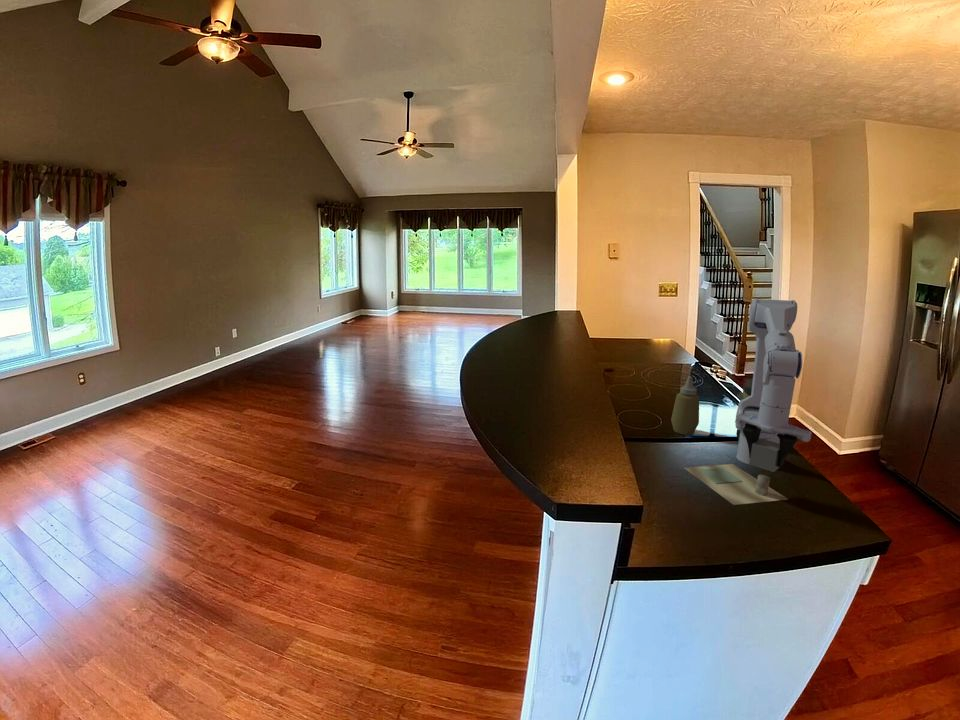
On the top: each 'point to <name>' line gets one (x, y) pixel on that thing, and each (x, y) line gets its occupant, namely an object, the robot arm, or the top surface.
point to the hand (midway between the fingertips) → (765, 461)
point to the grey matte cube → (765, 454)
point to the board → (736, 484)
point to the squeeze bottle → (686, 409)
